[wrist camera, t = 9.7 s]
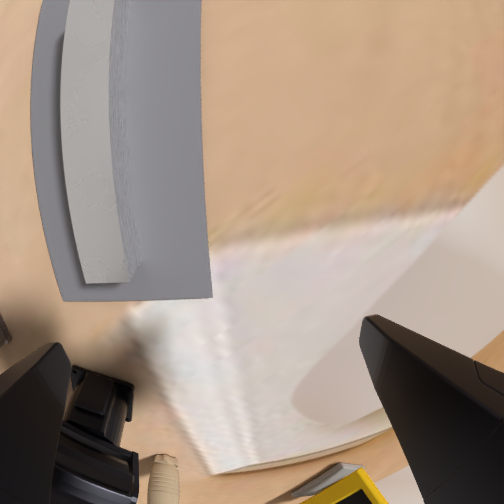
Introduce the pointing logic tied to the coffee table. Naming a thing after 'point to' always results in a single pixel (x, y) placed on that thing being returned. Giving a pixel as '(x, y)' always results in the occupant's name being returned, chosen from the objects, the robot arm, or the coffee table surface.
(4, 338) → the grey stand
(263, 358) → the coffee table surface
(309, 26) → the coffee table surface
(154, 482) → the handle
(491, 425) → the robot arm
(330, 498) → the yellow framed monitor
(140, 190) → the mat
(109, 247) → the rail
